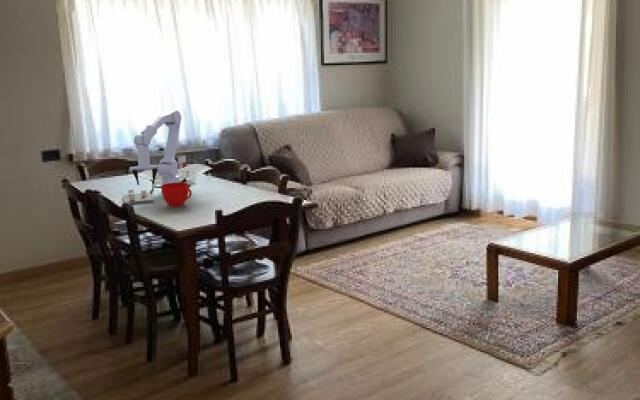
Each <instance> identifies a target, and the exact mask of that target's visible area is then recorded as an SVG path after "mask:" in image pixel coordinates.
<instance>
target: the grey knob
mask: <svg viewBox="0 0 640 400" xmlns="http://www.w3.org/2000/svg"><path fill="white" fill-rule="evenodd" d="M127 191H128V192H127V193H128V194H129V193H135V192H134V188H127Z"/></svg>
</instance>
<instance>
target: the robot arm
mask: <svg viewBox="0 0 640 400" xmlns="http://www.w3.org/2000/svg"><path fill="white" fill-rule="evenodd" d="M181 123H182V114H181V113H180V111H179V110H167V109H166V110H164V109H163V110H161V111H160V112H159V113H158V117H157V118H156V120H154V122H153V123H152V124H148V125H145V128H144V129H143V130H141V131H140V133H137V134H136V135H135V136H134V138H133V143H134V145H135V148H136V151H137V163H138V164H137V165H135V166H130V167H129V172H132V174H133V176H134V178H135V180H136V183H137V186H139V185H140V183H139V173H138V171H148V170H149V171H151V172H152V184H155V181H156V177H157V174H158V175H159V176H160V177H161V186H162V185H164V184H168V183H181V182H180V180H179V176H176V174H177V172H178V163H177V162H176V160H175V159H174V158H175V156H176V152H177V146H178V145H177V144H178V140H179V135H180V128H181ZM163 125H164V126H166V127H167V128H168V134H167V139H166V144H165V150H164V156H163V158H161V160H159V164H151V159H150V147H149V145H151V142H152V139H153V138H154V136H155V135H156V134H157V133H158V130H159V129H160V127H161V128H162V126H163ZM161 193H162V190H161Z"/></svg>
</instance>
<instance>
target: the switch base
mask: <svg viewBox="0 0 640 400" xmlns="http://www.w3.org/2000/svg"><path fill="white" fill-rule="evenodd" d="M146 195H147V196H143V197H142V196H141V192H140V193H139V192H138V193H135V200H130V195H129V193H128V194H122V199H123V203H130V204H132V205H133V206H134V205H142V204H143V205H144V204H153V203H154V202H155V200H154V197H153V194H152V193H151V192H146ZM154 204H155V203H154ZM132 205H131V206H132Z"/></svg>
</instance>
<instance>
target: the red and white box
mask: <svg viewBox="0 0 640 400" xmlns="http://www.w3.org/2000/svg"><path fill="white" fill-rule="evenodd" d="M174 159H175V160H176V162H177V163H178V169H181V168H184V167H187V165H188V163H187V158H186V155H185V154H177V155H175V158H174ZM187 168H188V167H187Z"/></svg>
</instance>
